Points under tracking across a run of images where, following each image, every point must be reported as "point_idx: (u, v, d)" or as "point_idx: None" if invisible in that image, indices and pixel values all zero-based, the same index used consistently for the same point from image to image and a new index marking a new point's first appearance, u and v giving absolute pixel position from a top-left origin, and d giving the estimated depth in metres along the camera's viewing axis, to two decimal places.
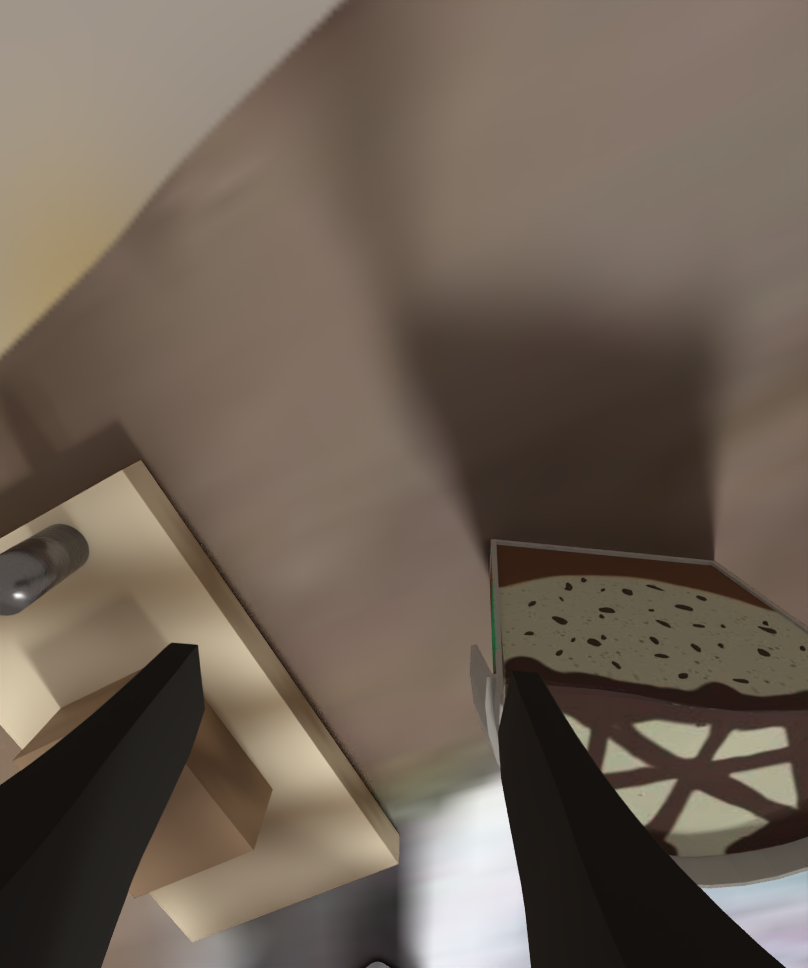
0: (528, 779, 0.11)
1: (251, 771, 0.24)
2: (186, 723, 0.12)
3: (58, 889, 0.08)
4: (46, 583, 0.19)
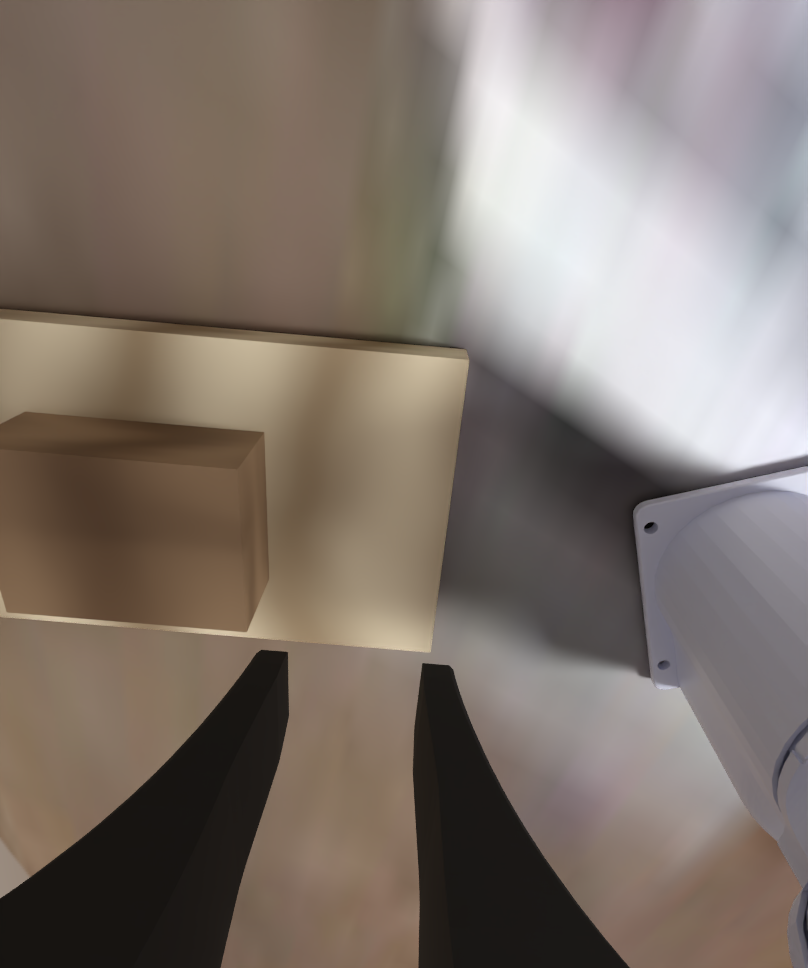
0: (425, 770, 0.11)
1: (213, 432, 0.18)
2: (278, 730, 0.12)
3: (198, 900, 0.08)
4: None
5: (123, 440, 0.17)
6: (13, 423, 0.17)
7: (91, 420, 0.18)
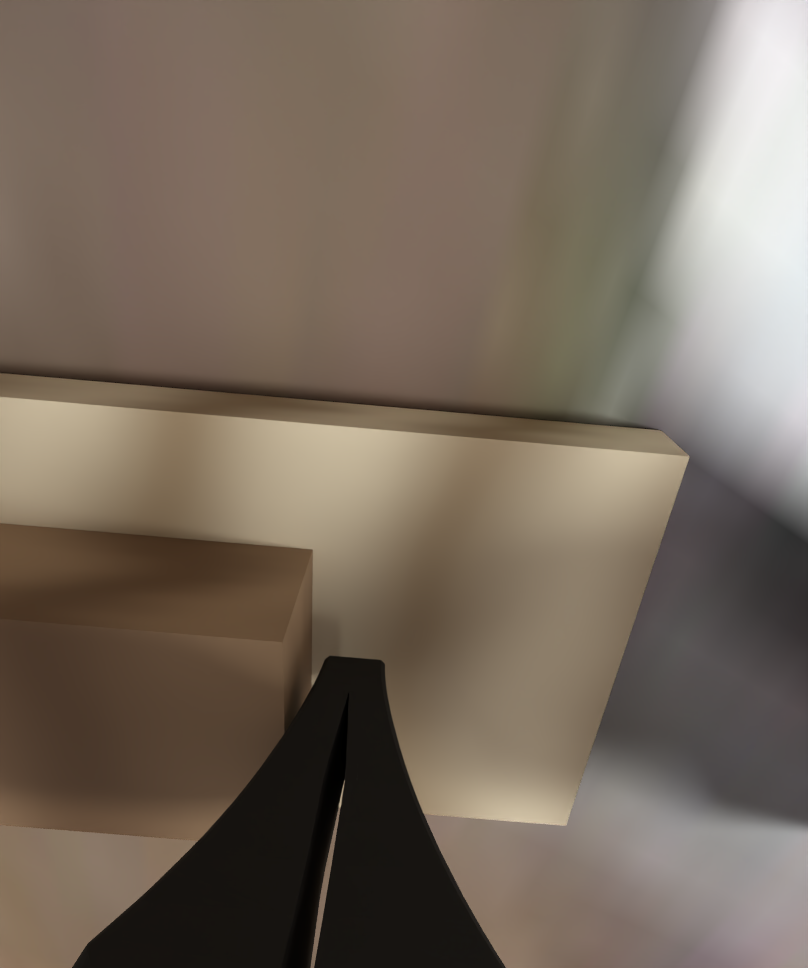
0: None
1: (237, 553, 0.12)
2: None
3: (305, 908, 0.08)
4: None
5: (100, 578, 0.11)
6: None
7: (54, 534, 0.12)
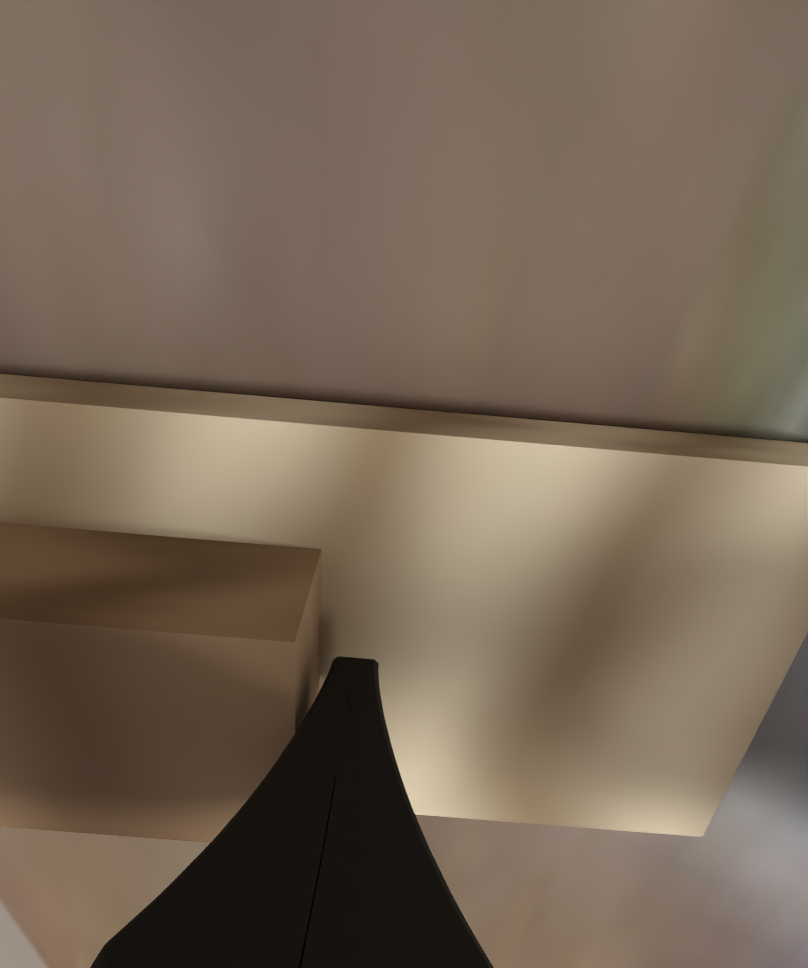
0: None
1: (246, 553, 0.12)
2: None
3: None
4: None
5: (109, 578, 0.11)
6: None
7: (62, 534, 0.12)
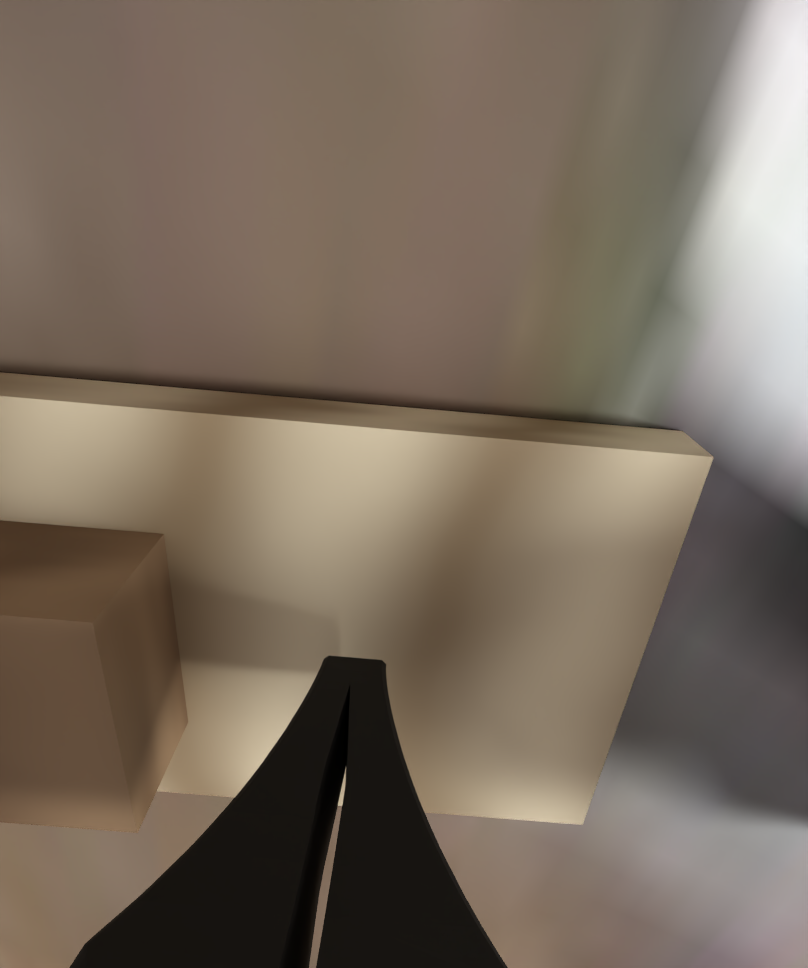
0: None
1: (83, 537, 0.12)
2: (347, 736, 0.12)
3: (303, 908, 0.08)
4: None
5: None
6: None
7: None
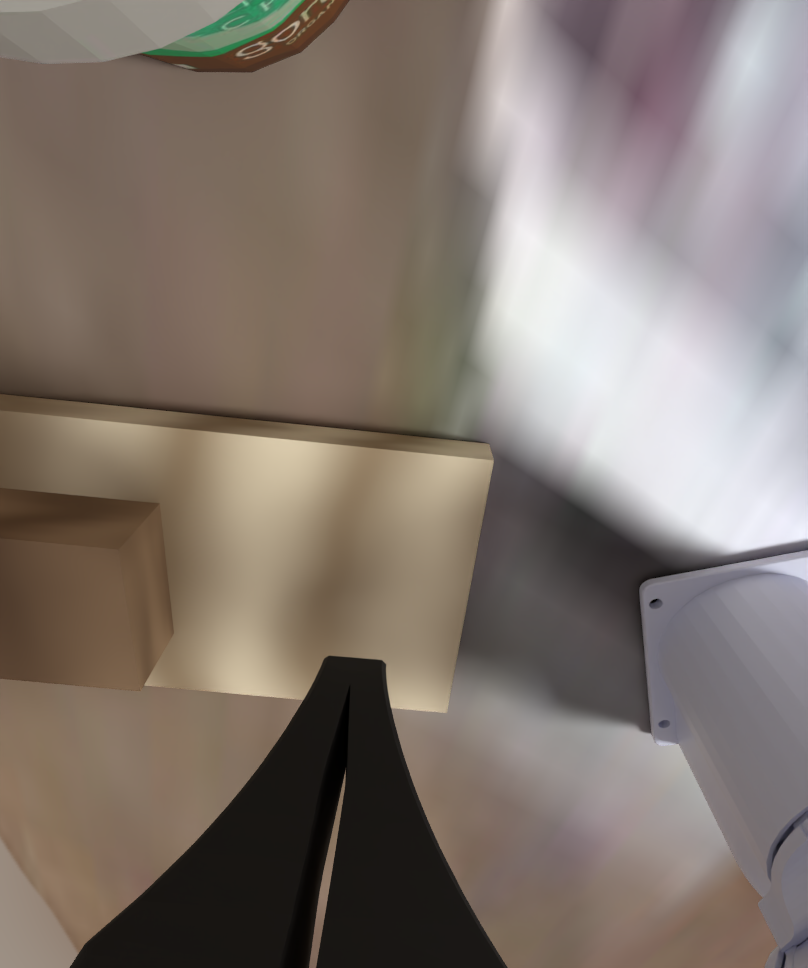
0: None
1: (109, 504, 0.19)
2: (347, 736, 0.12)
3: (303, 908, 0.08)
4: None
5: (18, 515, 0.18)
6: None
7: None
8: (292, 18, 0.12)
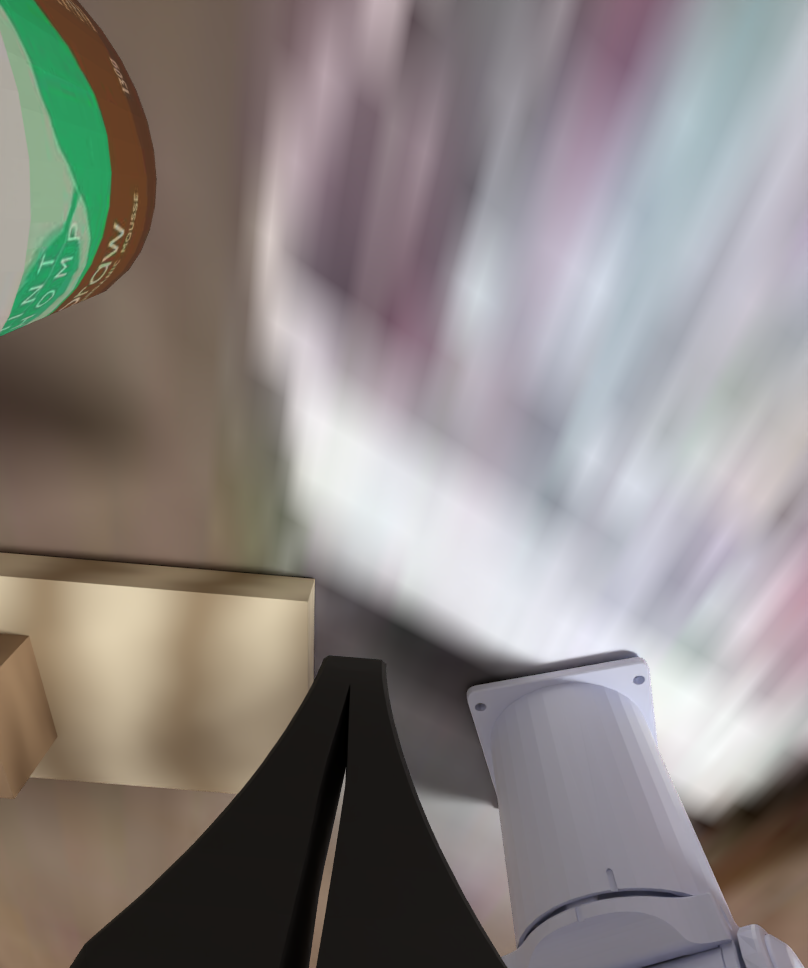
0: None
1: None
2: (347, 736, 0.12)
3: (303, 908, 0.08)
4: None
5: None
6: None
7: None
8: (64, 304, 0.15)
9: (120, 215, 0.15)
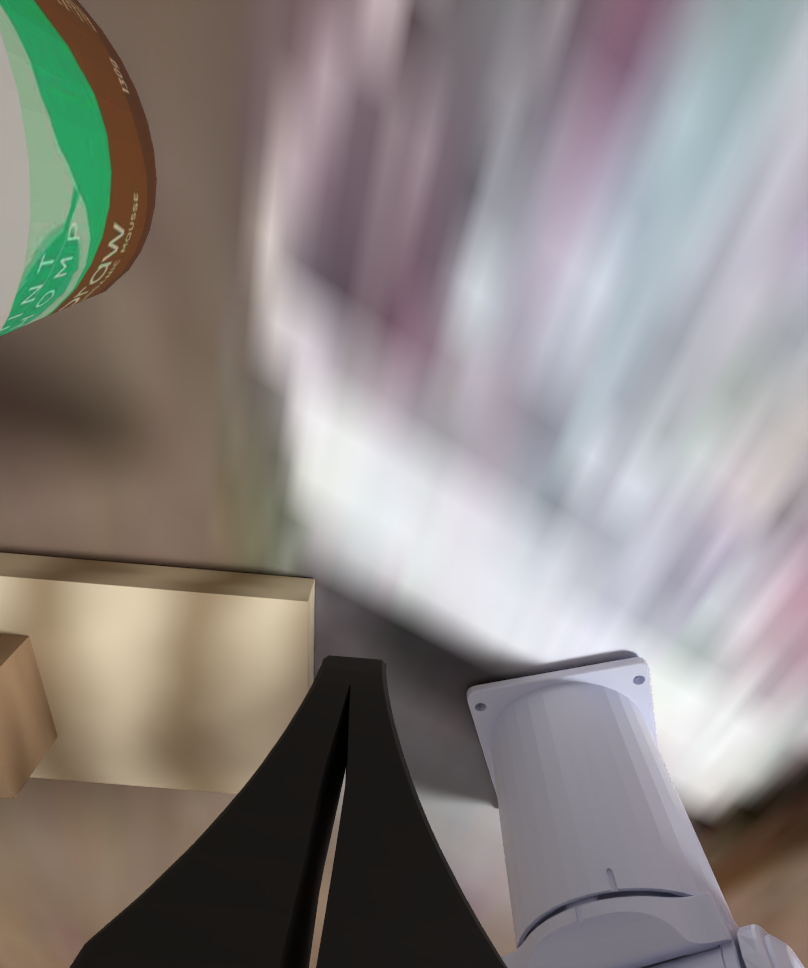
0: None
1: None
2: (347, 736, 0.12)
3: (303, 908, 0.08)
4: None
5: None
6: None
7: None
8: (64, 304, 0.15)
9: (120, 215, 0.15)
